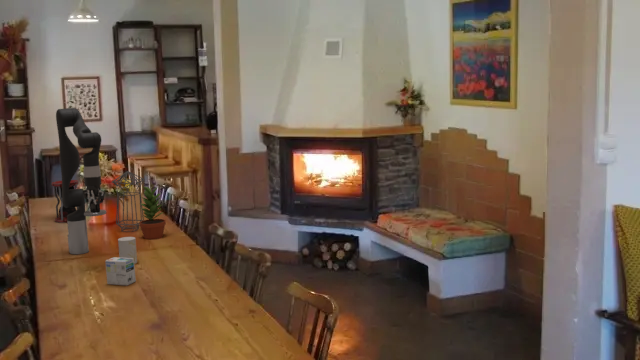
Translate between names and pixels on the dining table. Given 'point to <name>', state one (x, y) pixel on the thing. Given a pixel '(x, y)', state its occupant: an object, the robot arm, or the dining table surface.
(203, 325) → the dining table surface
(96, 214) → the lid
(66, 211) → the hourglass
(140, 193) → the geometric lantern
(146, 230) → the potted plant
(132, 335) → the dining table surface
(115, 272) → the light bulb box
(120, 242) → the light grey cylinder
